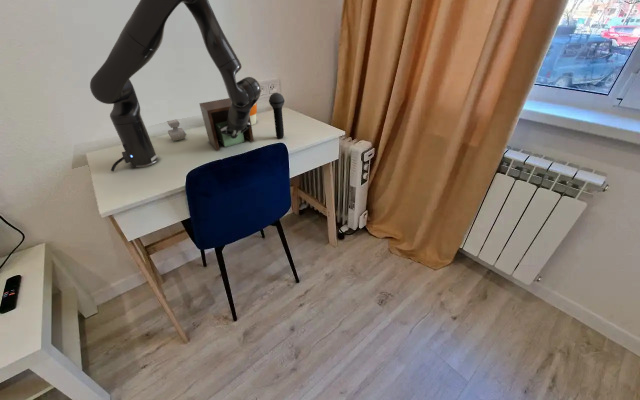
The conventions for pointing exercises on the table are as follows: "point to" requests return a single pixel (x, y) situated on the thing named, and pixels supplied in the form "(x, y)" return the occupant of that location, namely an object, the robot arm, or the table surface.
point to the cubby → (218, 119)
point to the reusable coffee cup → (253, 114)
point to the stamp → (176, 130)
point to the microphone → (277, 113)
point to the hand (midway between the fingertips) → (233, 136)
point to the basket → (227, 139)
